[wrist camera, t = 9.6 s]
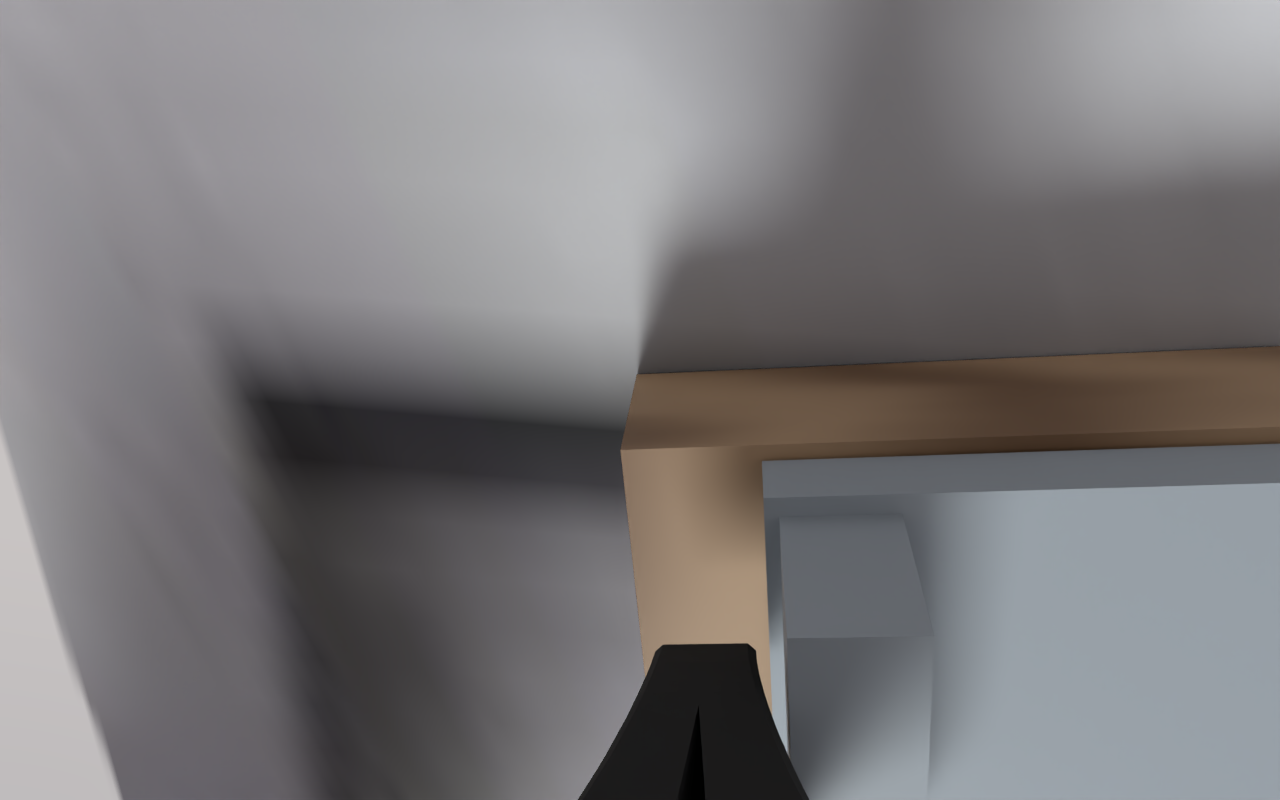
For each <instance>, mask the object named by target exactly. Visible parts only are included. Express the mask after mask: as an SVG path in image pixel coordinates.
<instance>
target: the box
mask: <svg viewBox="0 0 1280 800" xmlns="http://www.w3.org/2000/svg"><path fill="white" fill-rule="evenodd" d="M1254 444H1280V346H1275V347H1252V348H1229V349H1206V350H1183V351H1160V352H1138V353H1115V354H1092V355H1069V356H1046V357H1023V358H1000V359H978V360H955V361H932V362H909V363H886V364H863V365H840V366H818V367H795V368H772V369H749V370H726V371H703V372H681V373H658V374H637V376H636V381H635V385H634V390H633V395H632V399H631V404H630V408H629V413H628V418H627V422H626V427H625V431H624V436H623V441H622V445H621V459H622V468H623V478H624V487H625V496H626V505H627V514H628V524H629V533H630V542H631V551H632V560H633V570H634V579H635V588H636V597H637V606H638V616H639V625H640V634H641V643H642V652H643V661H644V671H645V677H646V675H647V672H648V670H649V667H650V665H651V662H652V659H653V656H654V653H655V651H656V650H657V649H659V648H660V647H661V646H662V645H665V644H732V643H748V644H749V645H750V646H752V647H753V648H754V649H755V650H756V654H757V664H758V669H759V674H760V679H761V683H762V686H763V690H764V693H765V697H766V700H767V703H768V706H769V708H770V711H771V714H772V694H771V670H770V646H769V622H768V598H767V574H766V550H765V526H764V502H763V476H762V461H774V460H804V459H834V458H864V457H894V456H924V455H954V454H984V453H1014V452H1044V451H1074V450H1104V449H1134V448H1164V447H1194V446H1224V445H1254Z"/></svg>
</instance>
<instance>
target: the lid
mask: <svg viewBox="0 0 1280 800" xmlns="http://www.w3.org/2000/svg"><path fill="white" fill-rule="evenodd" d="M762 476H763V502H764V526H765V550H766V574H767V598H768V622H769V646H770V670H771V694H772V717H773V720H774V722H775V725H776V728H777V730H778V733H779V735H780V737H781V740H782V742H783V744H784V747H785V749H786V751H787V754H788V756H789V758H790V761H791V763H792V765H793V767H794V770H795V772H796V774H797V776H798V778H799V780H800V782H801V784H802V786H803V788H804V790H805V792H806V794H807V796H808V798H809V800H1280V444H1254V445H1224V446H1194V447H1164V448H1134V449H1104V450H1074V451H1044V452H1014V453H984V454H954V455H924V456H894V457H864V458H834V459H804V460H774V461H762Z"/></svg>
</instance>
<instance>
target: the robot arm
mask: <svg viewBox="0 0 1280 800" xmlns="http://www.w3.org/2000/svg"><path fill="white" fill-rule="evenodd" d="M578 800H809V798H808V796H807V794H806V792H805V790H804V788H803V786H802V784H801V782H800V780H799V778H798V776H797V774H796V772H795V770H794V767H793V765H792V763H791V761H790V758H789V756H788V754H787V751H786V749H785V747H784V744H783V742H782V740H781V737H780V735H779V733H778V730H777V728H776V725H775V722H774V720H773V717H772V714H771V711H770V708H769V706H768V703H767V700H766V697H765V693H764V690H763V686H762V683H761V679H760V674H759V669H758V664H757V654H756V650H755V649H754V648H753V647H752V646H750V645H749V644H748V643H732V644H665V645H662V646H661V647H660V648H659V649H657V650H656V651H655V653H654V656H653V659H652V662H651V665H650V667H649V670H648V672H647V675H646V677H645V680H644V682H643V684H642V687H641V689H640V691H639V693H638V695H637V697H636V699H635V701H634V703H633V705H632V707H631V709H630V712H629V714H628V716H627V718H626V719H625V721H624V723H623V725H622V727H621V729H620V730H619V732H618V734H617V736H616V738H615V739H614V741H613V743H612V745H611V747H610V748H609V750H608V752H607V754H606V756H605V757H604V759H603V761H602V762H601V764H600V766H599V767H598V769H597V771H596V772H595V774H594V775H593V777H592V778H591V780H590V782H589V783H588V785H587V786H586V788H585V789H584V791H583V792H582V794H581V796H580V797H579V799H578Z"/></svg>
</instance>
